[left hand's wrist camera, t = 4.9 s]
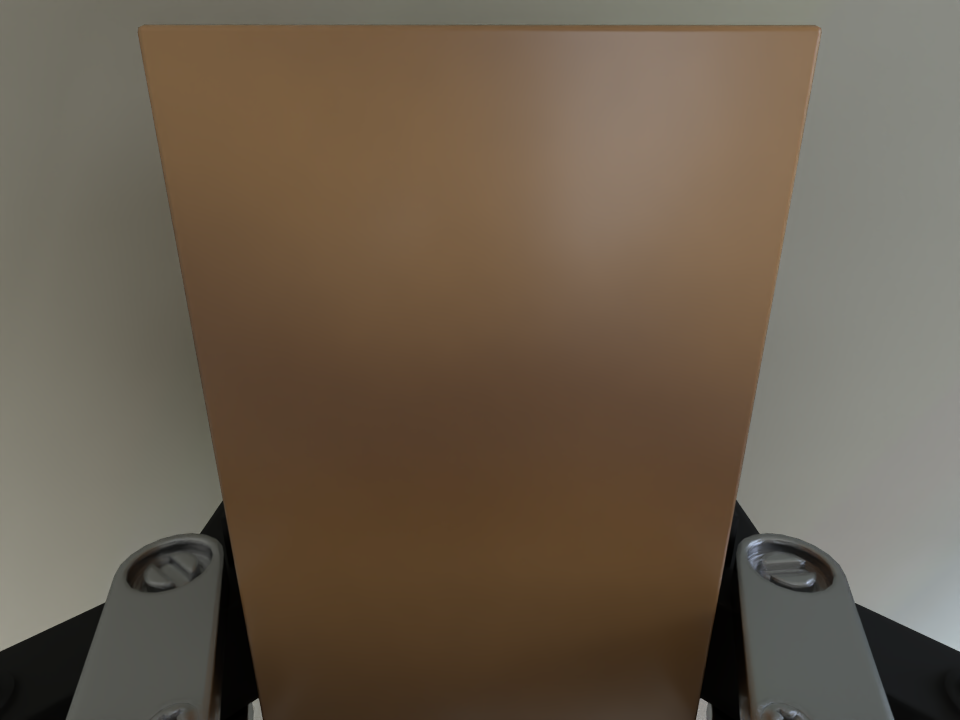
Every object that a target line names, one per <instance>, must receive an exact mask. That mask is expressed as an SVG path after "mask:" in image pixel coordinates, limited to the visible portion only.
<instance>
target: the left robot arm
mask: <svg viewBox="0 0 960 720" xmlns="http://www.w3.org/2000/svg"><path fill="white" fill-rule="evenodd" d="M257 698H259V695H258V689H257V684H256V678H255V673H254V668H253V662H252V657H251V651H250V646H249V640H248V635H247V629H246V624H245V618H244V613H243V607H242V602H241V596H240V591H239V585H238V580H237V574H236V569H235V563H234V558H233V552H232V547H231V541H230V536H229V530H228V525H227V519H226V514H225V508H224V503H223V501H222V503H221V504H220V505H219V507H218V508H217V510H216V511H215V513H214V514H213V516H212V517H211V519H210V520H209V521H208V523H207V524H206V526H205V527H204V529H203V530H202V532H201V533H200V534H195V533H190V534H180V535H174V536H170V537H167V538H163V539H160V540H157V541H155V542H153V543H151V544H148V545H146V546H144V547H143V548H141V549H139V550H138V551H136V552H135V553H133V554H132V555H130V556H129V557H128V558H127V559H126V560H125V561H124V562H123V563H122V564H121V565H120V567H119V569H118V570H117V572H116V574H115V576H114V579H113V581H112V584H111V587H110V590H109V593H108V596H107V599H106V602H105V603H103V604H101V605H99V606H97V607H95V608H93V609H91V610H88V611H86V612H84V613H82V614H80V615H78V616H76V617H73V618H71V619H69V620H67V621H65V622H63V623H61V624H58V625H56V626H54V627H52V628H50V629H48V630H46V631H43V632H41V633H39V634H37V635H35V636H33V637H31V638H28V639H26V640H24V641H22V642H20V643H18V644H16V645H13V646H11V647H9V648H7V649H5V650H3V651H1V652H0V720H253V717H254V711H253V705H252V702H253V701H254V700H256V699H257ZM700 698H702V699H704V700H705V701H707V702H708V705H707V711H706V717H707V720H960V652H959V651H957V650H955V649H953V648H951V647H948V646H946V645H944V644H942V643H940V642H938V641H936V640H933V639H931V638H929V637H927V636H925V635H923V634H921V633H918V632H916V631H914V630H912V629H910V628H908V627H906V626H903V625H901V624H899V623H897V622H895V621H893V620H891V619H888V618H886V617H884V616H882V615H880V614H878V613H876V612H873V611H871V610H869V609H867V608H865V607H863V606H861V605H858V604H856V603H855V602H854V599H853V596H852V593H851V590H850V587H849V584H848V581H847V579H846V576H845V574H844V572H843V570H842V569H841V567H840V565H839V564H838V563H837V562H836V561H835V560H834V559H833V558H832V557H831V556H830V555H828V554H827V553H825V552H824V551H822V550H821V549H819V548H817V547H816V546H814V545H812V544H809V543H807V542H805V541H803V540H800V539H797V538H793V537H790V536H786V535H780V534H770V533H765V534H759V532H758V531H757V529H756V528H755V526H754V525H753V523H752V522H751V521H750V519H749V518H748V516H747V515H746V513H745V512H744V510H743V509H742V508H741V506H740V505H739V503H738V502H737V500H736V503H735V508H734V514H733V519H732V525H731V530H730V536H729V541H728V546H727V552H726V557H725V563H724V568H723V574H722V579H721V585H720V590H719V596H718V601H717V607H716V612H715V618H714V623H713V628H712V634H711V639H710V645H709V650H708V656H707V661H706V667H705V672H704V678H703V683H702V689H701V694H700Z"/></svg>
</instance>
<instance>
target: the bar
mask: <svg viewBox="0 0 960 720" xmlns="http://www.w3.org/2000/svg"><path fill="white" fill-rule="evenodd" d="M138 36H139V42H140V47H141V53H142V58H143V64H144V69H145V75H146V80H147V86H148V91H149V97H150V102H151V108H152V113H153V119H154V124H155V129H156V135H157V140H158V146H159V151H160V157H161V162H162V168H163V173H164V179H165V184H166V190H167V195H168V201H169V206H170V212H171V217H172V223H173V228H174V234H175V239H176V245H177V250H178V256H179V261H180V267H181V272H182V278H183V283H184V289H185V294H186V300H187V305H188V311H189V316H190V322H191V327H192V333H193V338H194V344H195V349H196V355H197V360H198V366H199V371H200V377H201V382H202V388H203V393H204V398H205V404H206V409H207V415H208V420H209V426H210V431H211V437H212V442H213V448H214V453H215V459H216V464H217V470H218V475H219V481H220V486H221V492H222V497H223V503H224V508H225V514H226V519H227V525H228V530H229V536H230V541H231V547H232V552H233V558H234V563H235V569H236V574H237V580H238V585H239V591H240V596H241V602H242V607H243V613H244V618H245V624H246V629H247V635H248V640H249V646H250V651H251V657H252V662H253V668H254V673H255V678H256V684H257V689H258V695H259V700H260V706H261V711H262V717H263V720H696V716H697V710H698V705H699V700H700V694H701V689H702V683H703V678H704V672H705V667H706V661H707V656H708V650H709V645H710V639H711V634H712V628H713V623H714V618H715V612H716V607H717V601H718V596H719V590H720V585H721V579H722V574H723V568H724V563H725V557H726V552H727V546H728V541H729V536H730V530H731V525H732V519H733V514H734V508H735V503H736V497H737V492H738V486H739V481H740V475H741V470H742V464H743V459H744V454H745V448H746V443H747V437H748V432H749V426H750V421H751V415H752V410H753V404H754V399H755V393H756V388H757V382H758V377H759V372H760V366H761V361H762V355H763V350H764V344H765V339H766V333H767V328H768V322H769V317H770V311H771V306H772V300H773V295H774V290H775V284H776V279H777V273H778V268H779V262H780V257H781V251H782V246H783V240H784V235H785V229H786V224H787V218H788V213H789V208H790V202H791V197H792V191H793V186H794V180H795V175H796V169H797V164H798V158H799V153H800V147H801V142H802V136H803V131H804V126H805V120H806V115H807V109H808V104H809V98H810V93H811V87H812V82H813V76H814V71H815V65H816V60H817V54H818V49H819V44H820V38H821V28H820V27H818V26H816V25H143V26H141V27H139V28H138Z"/></svg>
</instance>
